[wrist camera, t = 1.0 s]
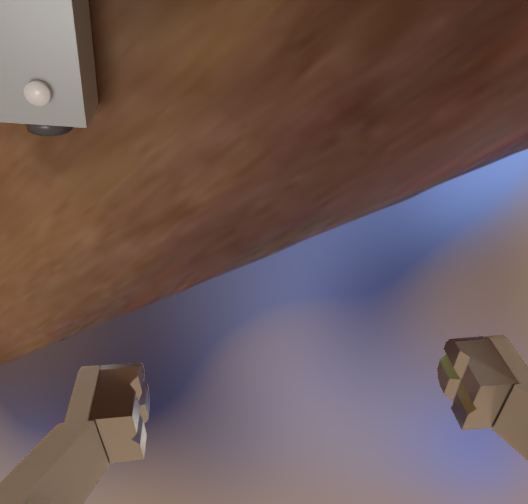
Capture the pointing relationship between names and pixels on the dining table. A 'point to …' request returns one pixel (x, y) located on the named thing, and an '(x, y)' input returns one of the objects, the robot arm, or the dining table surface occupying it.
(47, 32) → the camera case
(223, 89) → the dining table surface
